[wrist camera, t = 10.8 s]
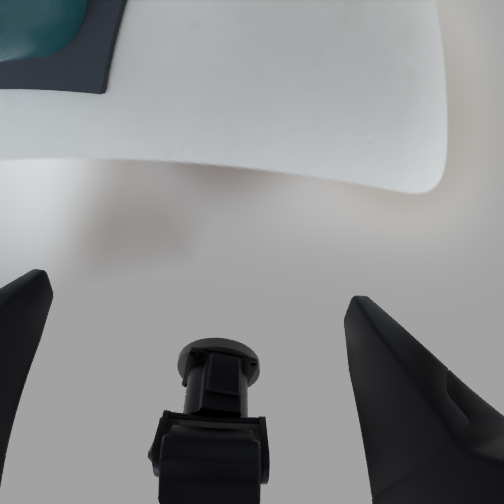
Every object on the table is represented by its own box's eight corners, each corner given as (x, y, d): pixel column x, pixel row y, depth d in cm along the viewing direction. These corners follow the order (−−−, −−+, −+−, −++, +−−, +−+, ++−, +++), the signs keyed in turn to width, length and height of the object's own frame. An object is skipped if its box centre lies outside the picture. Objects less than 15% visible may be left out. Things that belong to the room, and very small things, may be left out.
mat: (105, 93, 16) (101, 94, 15) (-8, 88, 14) (-13, 89, 14) (146, -55, 11) (143, -58, 10) (20, -39, 9) (15, -40, 9)
